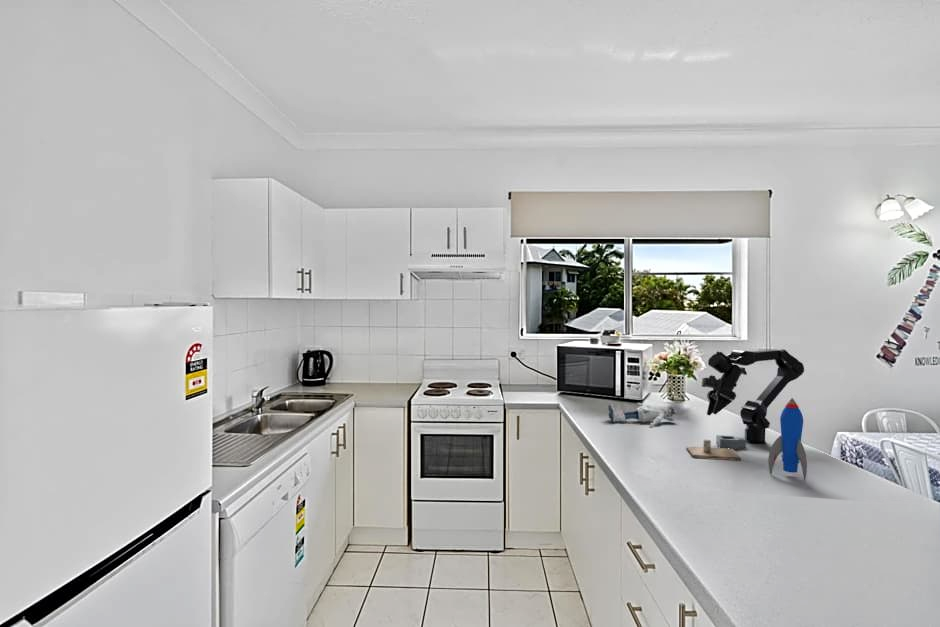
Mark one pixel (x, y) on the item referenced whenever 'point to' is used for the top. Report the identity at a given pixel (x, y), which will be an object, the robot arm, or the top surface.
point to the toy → (643, 414)
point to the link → (730, 442)
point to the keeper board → (712, 452)
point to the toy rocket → (790, 441)
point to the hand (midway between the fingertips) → (711, 414)
